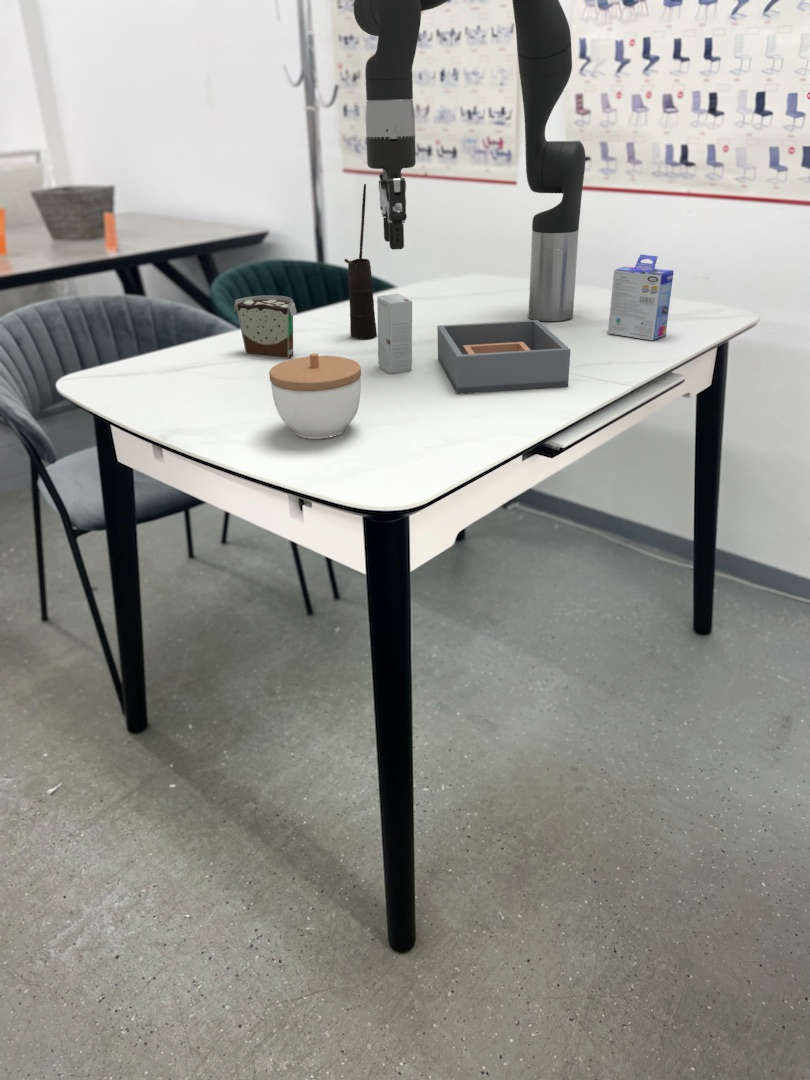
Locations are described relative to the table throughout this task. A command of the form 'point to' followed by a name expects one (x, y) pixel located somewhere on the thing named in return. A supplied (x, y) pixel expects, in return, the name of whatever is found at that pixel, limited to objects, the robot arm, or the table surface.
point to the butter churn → (361, 292)
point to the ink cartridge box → (640, 300)
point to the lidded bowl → (316, 394)
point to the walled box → (502, 356)
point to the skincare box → (394, 333)
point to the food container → (267, 325)
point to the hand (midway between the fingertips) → (393, 245)
